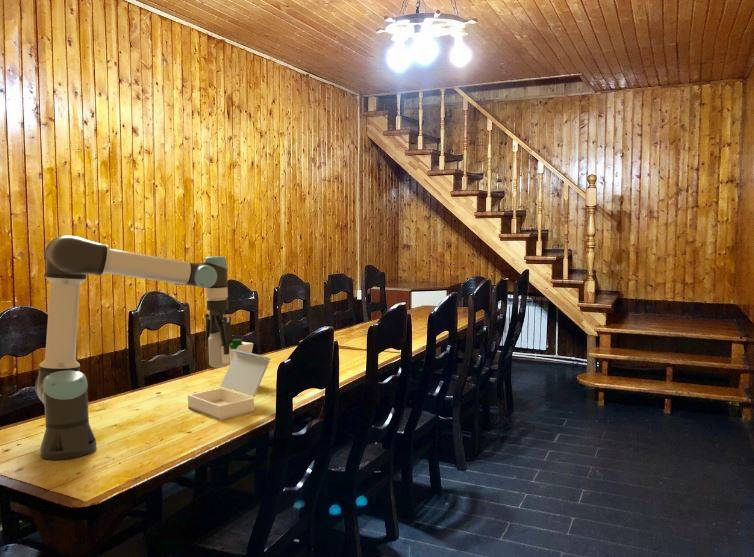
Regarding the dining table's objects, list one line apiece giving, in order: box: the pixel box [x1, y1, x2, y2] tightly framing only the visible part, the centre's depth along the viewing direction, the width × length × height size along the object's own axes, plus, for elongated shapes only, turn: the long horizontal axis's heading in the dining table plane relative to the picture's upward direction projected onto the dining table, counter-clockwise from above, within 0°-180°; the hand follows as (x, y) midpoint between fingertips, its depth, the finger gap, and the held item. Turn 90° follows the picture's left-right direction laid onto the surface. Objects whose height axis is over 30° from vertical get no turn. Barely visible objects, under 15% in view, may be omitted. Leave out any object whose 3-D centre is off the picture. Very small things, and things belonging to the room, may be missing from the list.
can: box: [207, 331, 230, 369], centre depth 230 cm, size 8×8×12 cm
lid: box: [220, 349, 271, 398], centre depth 237 cm, size 15×22×2 cm
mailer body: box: [187, 387, 255, 421], centre depth 231 cm, size 14×22×5 cm, turn 45°
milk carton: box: [230, 338, 254, 363], centre depth 266 cm, size 9×9×20 cm
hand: (219, 361), depth 230 cm, fingers closed on can, 7 cm apart
